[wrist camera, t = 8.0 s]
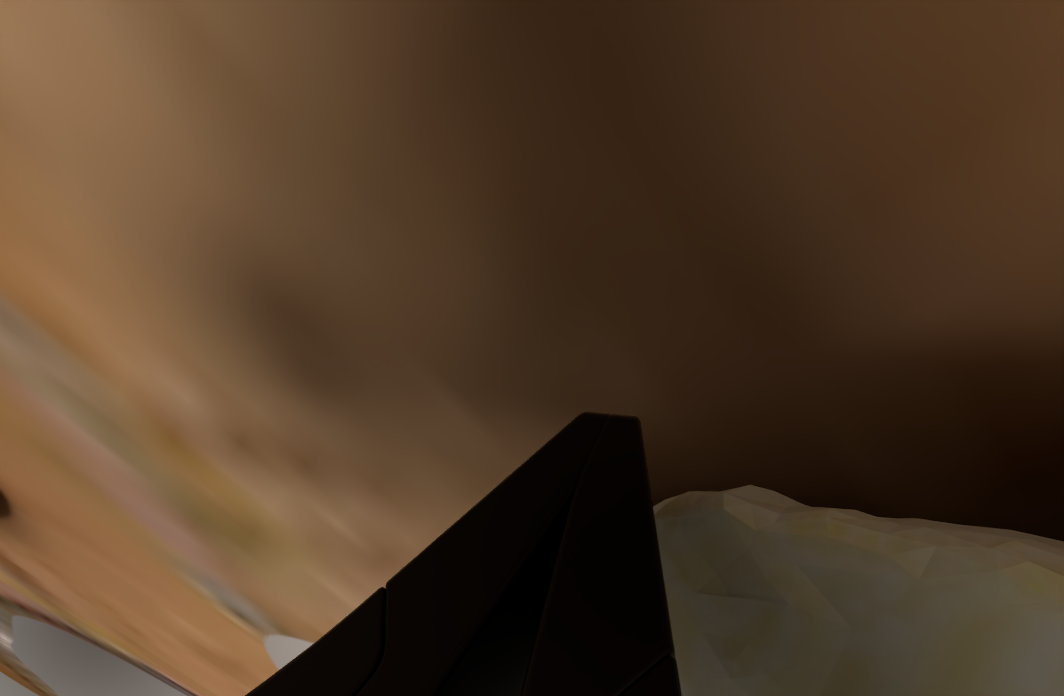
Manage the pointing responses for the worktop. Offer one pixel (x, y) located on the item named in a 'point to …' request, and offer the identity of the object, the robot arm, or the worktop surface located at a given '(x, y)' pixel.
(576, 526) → the robot arm
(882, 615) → the grey lumpy stone
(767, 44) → the worktop surface
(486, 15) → the worktop surface
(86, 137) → the worktop surface
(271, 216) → the worktop surface
